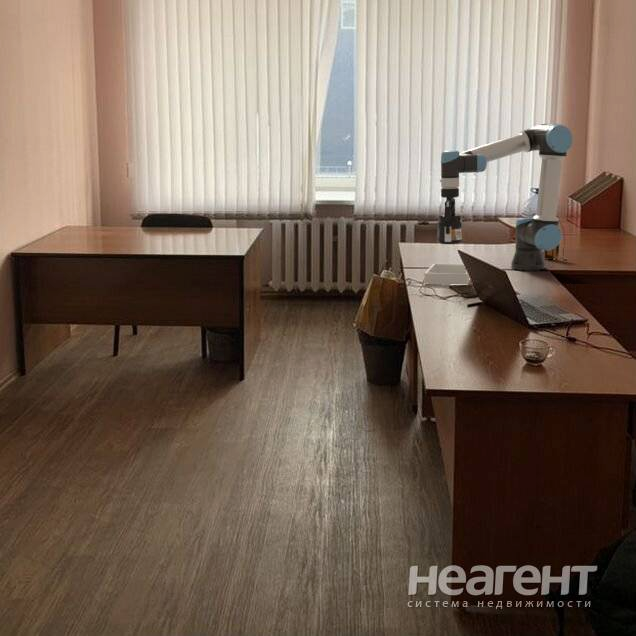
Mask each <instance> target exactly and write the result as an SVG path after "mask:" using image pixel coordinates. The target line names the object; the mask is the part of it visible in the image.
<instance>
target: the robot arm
mask: <svg viewBox="0 0 636 636" xmlns="http://www.w3.org/2000/svg"><path fill="white" fill-rule="evenodd" d="M573 141H574V137H573V133H572V131H571V130H570V129H569V128H568V127H567V126H565V125H564V124H558V123H542V124H538V125H535V126H532V127H531V128H528V129H525V130H521V131H520V132H519V133H518V134H516V135H513V136H510V137H507V138H503V139H500V140H497V141H494V142H490V143H487V144H483V145H480V146H478V147H475V148H472V149H469V150H465V151H462V152H460V151H459V150H444V151H442V152H441V155H440V169H441V170H440V172H441V173H440V176H441V177H440V179H439V182H440V186H441V190H440V197H441V198H446V200H445V201H444V214H445V216H444V224H443V226H445V242H451V216H452V214H456V198H459V196H460V188H459V187H460V174H465V173H466V174H467V173H468V174H469V173H477V174H478V173H483V172H485V171H486V169H487V165H488V164H487V163H489V162H493V161H496V160H498V159H502V158H506V157H509V156H512V155H515V154H518V153H522V152H524V153H529V152H533V151H538V156H539V158H541V165H540V172H539V173H540V174H539V183H538V192H537V201H536V210H535V214H534V216H532V217H526V218H525V217H524V218H517V219H516V221H515V251H514V254H513V258H512V260H511V264H510V265H511V268H510V269H512V268H513V269H512V270H515V269H517V270H516V271H522V270H525V272H527V271H528V272H532V271H533V272H534V271H535V270H536V271H541V270H540V269H543V268H545V269H546V262H545V261H546V260H545V259H544V258H543V250H552V249H554V248H555V247H557V246H558V245H559V246H560V243H561V241H562V239H563V233H562V230H561V229H560V227H559V223H560V221H559V220H560V219H559V218H558V217H557V209H558V200H559V190H560V182H561V174H562V166H563V165H562V164H563V160H564V159H566V158H567V152H568V151H569V149H570V148H571V147H572V145H573ZM543 270H544V269H543Z"/></svg>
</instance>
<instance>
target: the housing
mask: <svg viewBox="0 0 636 636" xmlns="http://www.w3.org/2000/svg"><path fill="white" fill-rule="evenodd" d="M423 276H424V277H423V278H424V283H428V284H444V285H443V286H450V285H449V284H468V283H469V284H470V282H469V276H468V273H467V272H466V270H465V267H464V265H463V264H461V263H433V264H431V266H429V268H427V270H426V271H425V272H424V275H423ZM469 284H468V285H469Z"/></svg>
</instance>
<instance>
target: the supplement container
mask: <svg viewBox="0 0 636 636" xmlns="http://www.w3.org/2000/svg"><path fill="white" fill-rule="evenodd" d="M444 216H445V213H441V214H439V215H438V222H437V243H439V244H441V245H458V244H461V243H462V241H463V222H462V215H461V214H460V213H455V214H452V216H451V242H445V226H443V224H444Z"/></svg>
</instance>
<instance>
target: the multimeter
mask: <svg viewBox="0 0 636 636" xmlns="http://www.w3.org/2000/svg"><path fill="white" fill-rule="evenodd" d="M559 223H560V224H561V227H562V231H563V233H565V231H564V230H565V229H564V227H563V223H562V222H561V221H560V219H559ZM563 238H564V239H563V245H565V240H566V238H565V235H563ZM559 251H560V244H559V245H558V246H557V247H555V248H554V249H552V250H542V254H543V258H544V260H548V259H555V261H557V260H556V259H558V260H559V259H560V258H559V257H560V256H559V255H560V254H559V253H560V252H559ZM562 251H563V252H562V255H564V254H565V253H564V251H565V248H563V249H562ZM562 260H563V261H564V260H565V259H564V258H562Z"/></svg>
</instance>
